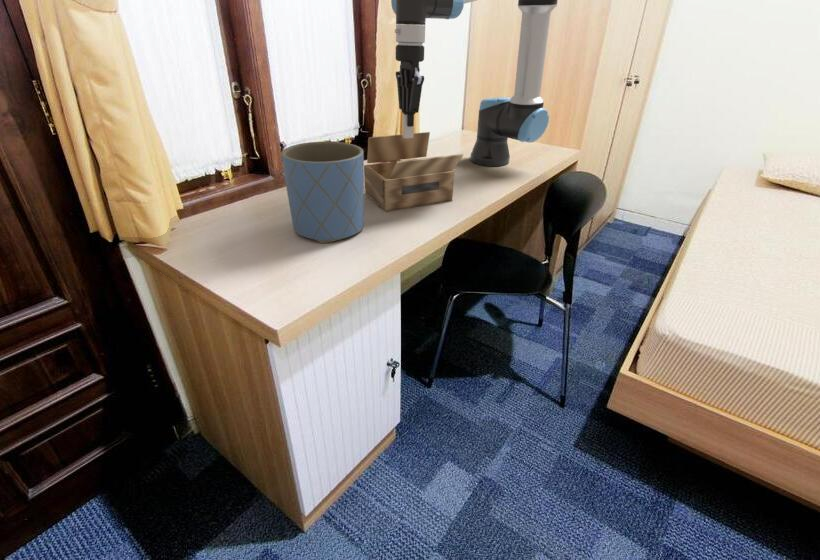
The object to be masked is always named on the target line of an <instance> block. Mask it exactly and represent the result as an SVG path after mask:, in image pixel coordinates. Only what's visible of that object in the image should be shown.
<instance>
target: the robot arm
mask: <svg viewBox="0 0 820 560" xmlns="http://www.w3.org/2000/svg"><path fill="white" fill-rule="evenodd" d="M390 2H391V9H392V11H393V13H394V14H395V29H394V34H395V42H396V43H397V44H396V46H395V60H396V61H397V62H400V66H399V70H398V71H395V78H396V84H397V85H396V87H397V96H398V97H397V98H398V106H399V107H398V109H399V110H401V113H402V134H403V138H413V133H415V131H414V130H415V128H414V126H415V115H416V114H417V113H419V110H420V102H421V97H422V92H423V91H422V90H423V84H424V81H425V76H424V75H421V74H420V70H421V69H420V63H421V62H423V61H425V46H424V45H423V44H424V43H425V41H426V19H441V20H442V19H443V20H451V19H457V18H458V17H459V16H460V15H461V14H462V12H463V11H464V10H463V9H464V6H465V5H464V4H469V3H472V2H477V0H390ZM517 2H518V3H517V7H518V9H519V10H520V12H521V21H520V33H519V41H518V42H519V44H518V51H517V52H518V53H517V60H516V61H517V62H516V63H517V64H516V73H515V83H514V94H513V95H512V97H509V96H508V97H507V96H505V97H504V96H502V97H488V98H484V99H482V100H481V101H480V104H479V109H478V119H477V120H478V121H477V132H476V140H475V144H474V145H473V148H472V150H471V153H470V159H469V160H470V162H472V163H474V164H476V165H480V166H486V167H501V166H506V165H508V164H509V163H510V157H511V156H510V155H511V154H510V150H509V143H508V139H511V140H515V141H519V142H522V143H524V142H525V143H528V144H529V143H534V142H536V141H538V140H539V139H540V138H541V137H542V136H543V134H545V132H546V130H547V128H548V124H549V119H550V116H549V115H550V114H549V112H548V110H547V109H546V108H545V107H544V103H545V99H543V97H542V96H541V92H542V91H541V90H542V83H543V75H544V68H545V67H544V66H545V59H546V52H547V44H548V37H549V36H548V35H549V29H550V21H551V13H552V12H553V10H554V9H555V8H557V5H558V0H518V1H517Z"/></svg>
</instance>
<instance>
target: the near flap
mask: <svg viewBox="0 0 820 560" xmlns="http://www.w3.org/2000/svg"><path fill="white" fill-rule="evenodd" d="M463 157H464V153H457V154H451V155H441V156H433V157H422V158H423V159H422V158H413V159H414V160H413V159H404V160H405V161H404V160H396V161H397V162H396V161H395V162H396V164H395V166H394V168H393V170H392V172H391V174H390V176H389V179H396V178H404V177H412V176H419V175H427V174H434V173H442V172H450V171H453V170H454V169H455V168H456V167H457V165H458V164H459V162H460V161H461V159H462V158H463Z"/></svg>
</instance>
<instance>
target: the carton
mask: <svg viewBox="0 0 820 560" xmlns="http://www.w3.org/2000/svg"><path fill="white" fill-rule="evenodd" d="M423 158H424V157H421V159H423ZM414 159H415V158H412V160H414ZM405 160H406V159H403V161H405ZM397 161H398V160H395V161H386V162H377V163H369V164H364V189H365V190H364V194H365V195H366V196H367V197H368V198H370V199H371V200H372V201H373V202H374V203H375V204H376V205H378V206H379V208H381V209H382V210H383V211H384V212H391V211H392V212H393V211H397V210H399V211H400V210H404V209H409V208H411V209H412V208H416V207H422V206H429V205H435V204H441V203H448V202H453V195H454V183H455V181H454V180H455V170H454V169H453V171H450V172H442V173H434V174H427V175H419V176H412V177H404V178H396V179H389V176H390V174H391V172H392V170H393V168H394V166H395V164H396V162H397Z"/></svg>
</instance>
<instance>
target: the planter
mask: <svg viewBox="0 0 820 560" xmlns="http://www.w3.org/2000/svg"><path fill="white" fill-rule="evenodd" d="M280 155H281V163H282V169H283V174H284V176H283V177H284V180H285V186H286V192H287V199H288V205H289V211H290V215H291V222H292V226H293V230H294V232H295V233H296V234H298V235H300V236H301V237H304V238H308V239H311V240H315V241H317V242H318V243H320V244H327V243H331V242H335V241H338V240H339V241H340V240H342V239H343V240H344V239H346V238H349V237H352V236H354V235H356V234H358V233H360V232H362V231H363V229H364V220H365V219H364V213H365V212H364V211H365V210H364V208H365V206H364V205H365V204H364V203H365V202H364V199H365V197H364V194H365V190H364V189H365V182H364V165H365V164H364V162H365V161H364V159H365V158H364V149H363V148H362V147H360V146H358V145H356V144H352V143H347V142H342V141H341V142H340V141H339V142H337V141H310V142H304V143H299V144H294V145H290V146H287V147H285V148H284V149H283V150H282V151H281V153H280Z"/></svg>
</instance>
